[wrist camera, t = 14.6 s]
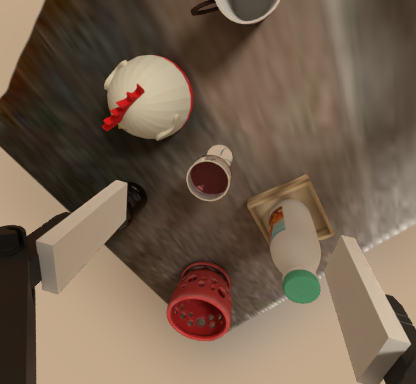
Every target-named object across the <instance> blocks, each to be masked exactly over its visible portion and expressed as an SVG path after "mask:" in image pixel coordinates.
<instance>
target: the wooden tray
mask: <svg viewBox="0 0 416 384" xmlns="http://www.w3.org/2000/svg"><path fill="white" fill-rule="evenodd" d="M284 199H295V200H298V201H301V202H302V203H304V204H305V205H306V206H307V207H308V209H309V211H310V214H311V217H312V220H313V223H314V226H315V230H316V233H317V236H318V240H319V241H320V240H323V239H326V238H329V237H332V236H335V233H334V231H333V229H332V226H331V224H330V222H329V220H328V218H327V215H326V213H325V211H324V209H323V207H322V205H321V202H320V200H319V198H318V196H317V194H316V192H315V189H314V187H313V185H312V183H311V181H310V179H309V177H308V174H305V175H303V176H301V177H298V178H296V179H294V180H291V181H289V182H286V183H284V184H282V185H279V186H277V187H275V188H272V189H270V190H267V191H265V192H263V193H260V194H258V195H256V196H253V197H251V198H248V203H247V208H248V209H249V211H250V213H251V215H252V216H253V218H254V220H255V222H256V224H257V225H258V227H259V229H260V231H261V233H262V234H263V236H264V238H265V240H266V242H267V243H268V245H269V247H270V239H269V212H270V210H271V208H272V207H273V206H274V205H275V204H276V203H277V202H279V201H281V200H284Z"/></svg>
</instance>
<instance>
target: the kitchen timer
mask: <svg viewBox="0 0 416 384" xmlns="http://www.w3.org/2000/svg"><path fill="white" fill-rule="evenodd" d="M104 89H105V90H108V95H107V97H108V106H109V109H110V112H111V116H110V117H108V118H106V119H104V120H103V122H105V123H106V124H104V125H103V126H102V128H103V129H105V130H106V131H108V130H110V129H112V128H113V127H114V126H116V125H117V124H118V128H119V129H121V128H123V129H124V130H125V131H127V132H129V133H130V134H132V135H134V136H138V137H142V138H146V139H156V140H157V141H158V140H161V139H163V138H166V137H168V136H170V135H173V134H174V133H176V132H177V131H178V130H179V129H181V128H182V127H183V126H184V125H185V123H186V122H187V120H188V119H189V117H190V114H191V111H192V108H193V93H192V89H191V85H190V82H189V80H188V78H187V77H186V75H185V73H184V72H183V71H182V70H181V69H180V67H179V66H178V65H177V64H175V63H174V62H172V61H170V60H169V59H167V58H164V57H160V56H156V55H146V56H138V57H136V58H134V59H132V60H130V61H128V62H127V61H126V60H124V61H122V62H121V63H120V64H119V65H118V66H117V67H116V68H115V70H114V71H113V72H112V73H111V75H110V76H109V77H108V78H107V79H106V81H105V84H104Z"/></svg>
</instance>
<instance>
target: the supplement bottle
mask: <svg viewBox="0 0 416 384" xmlns="http://www.w3.org/2000/svg"><path fill="white" fill-rule="evenodd" d="M146 203H147V195H146V193H145V191H144V189H143V188H142V187H141V186H139V185H138V184H136V183H132V182H127V206H126V220H125V221H124V223H123V224H122V225H121V226H120V227H119V228H118V229H117V230H120V229H124V228H126V227H127V226H129V225H130V223H131V222H132V221H133V220H134V219H135V217H136V216H137V215H138V214H139V213H140V212H141V210H142V209H143V208H144V207H145V205H146ZM117 230H116V231H117ZM116 231H115V232H116ZM115 232H114V233H115Z"/></svg>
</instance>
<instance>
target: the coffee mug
mask: <svg viewBox="0 0 416 384" xmlns="http://www.w3.org/2000/svg"><path fill="white" fill-rule="evenodd" d="M279 2H280V0H208V1H205V2H202V3H200V4H198V5H197V6H195V7H194V8H192V9H191V14H192V15H194V16H195V15H201V14H206V13H210V12H214V11H217V10H220V11H221V12H222V13H223V14H224V15H225V16H226V17H227V18H228V19H230V20H231V21H234V22H236V23H240V24H246V25H254V24H258V23H260V22H261V21H263V20H264V19H265V18H266V17H267V16H268V15H269V14H270V13H271V12H272V11H273V10H274V9H275V8H276V7H277V5H278V3H279ZM212 3H216V4H217V6H218V7H214V8H211V9H207V10H202V11H197V10H199V9H200V8H202V7H205V6H207V5H209V4H212Z"/></svg>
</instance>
